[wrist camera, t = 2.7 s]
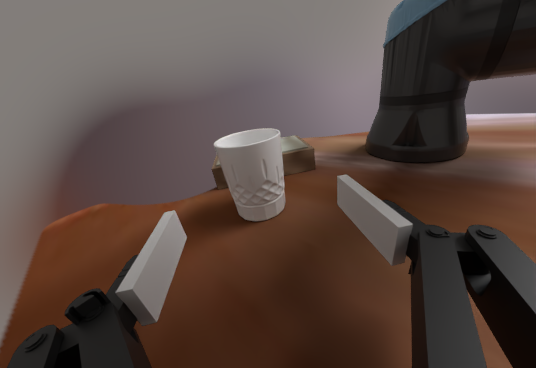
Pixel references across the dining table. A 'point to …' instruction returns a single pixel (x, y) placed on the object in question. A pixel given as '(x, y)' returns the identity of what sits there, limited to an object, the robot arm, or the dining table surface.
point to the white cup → (254, 172)
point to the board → (294, 159)
